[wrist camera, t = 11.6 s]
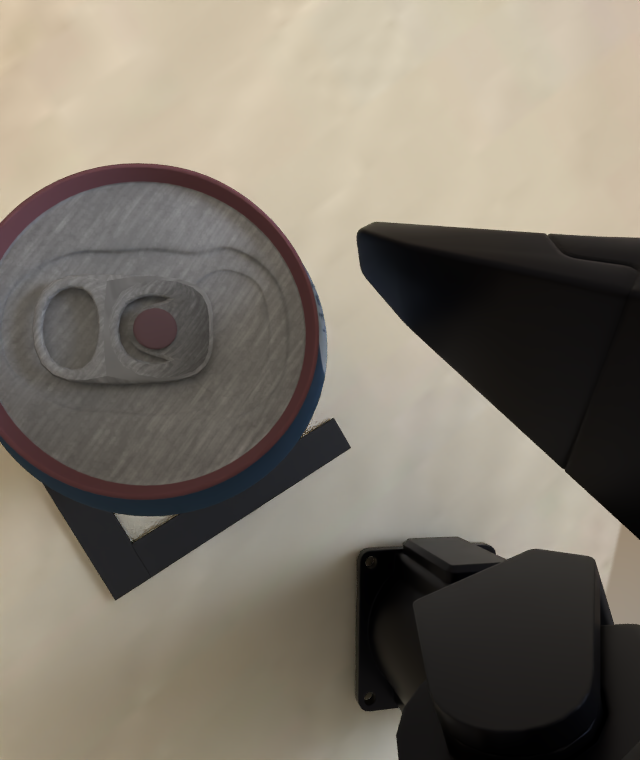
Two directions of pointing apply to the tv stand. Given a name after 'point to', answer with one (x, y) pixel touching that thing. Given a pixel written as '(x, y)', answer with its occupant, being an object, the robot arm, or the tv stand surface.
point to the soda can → (153, 340)
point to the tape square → (188, 517)
